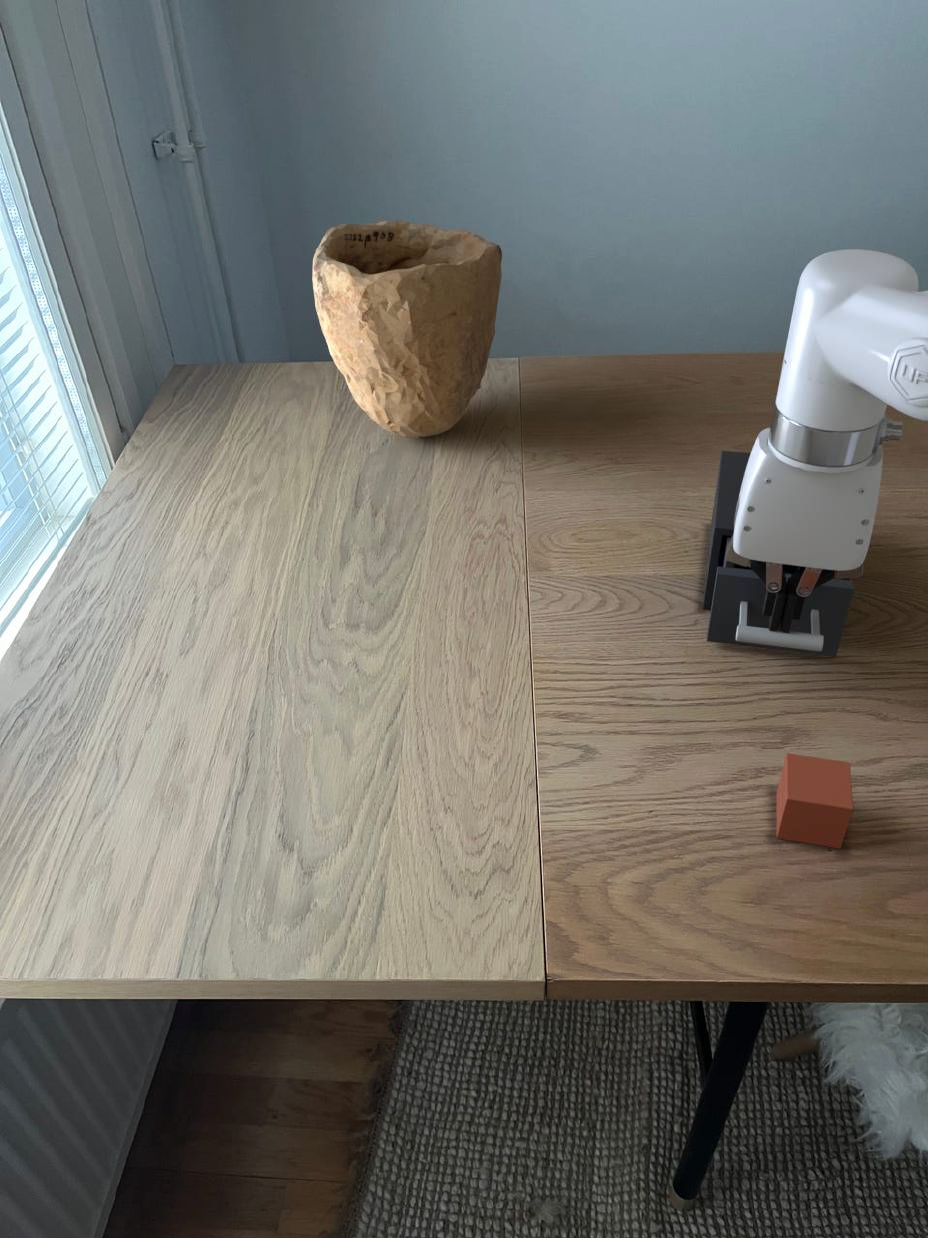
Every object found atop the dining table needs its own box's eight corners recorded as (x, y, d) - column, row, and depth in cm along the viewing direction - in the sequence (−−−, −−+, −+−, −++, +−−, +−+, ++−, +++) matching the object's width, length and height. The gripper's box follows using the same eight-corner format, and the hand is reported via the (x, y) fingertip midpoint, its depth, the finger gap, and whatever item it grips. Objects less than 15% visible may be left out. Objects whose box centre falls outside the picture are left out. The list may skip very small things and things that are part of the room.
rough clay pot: (542, 425, 124) (544, 227, 108) (424, 496, 112) (406, 285, 96) (420, 380, 136) (405, 196, 121) (300, 440, 124) (267, 244, 108)
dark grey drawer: (838, 694, 82) (857, 624, 77) (703, 676, 84) (714, 608, 79) (829, 570, 96) (845, 505, 91) (713, 558, 98) (723, 493, 93)
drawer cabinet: (837, 624, 90) (859, 541, 84) (702, 609, 93) (714, 527, 87) (831, 539, 101) (850, 460, 95) (710, 527, 104) (721, 450, 98)
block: (837, 802, 74) (850, 762, 71) (840, 849, 71) (853, 809, 68) (776, 792, 75) (786, 752, 72) (776, 838, 72) (786, 798, 69)
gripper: (927, 416, 71) (868, 607, 82) (722, 397, 74) (693, 584, 86) (938, 467, 65) (873, 664, 77) (716, 444, 68) (686, 637, 80)
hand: (778, 621), depth 81 cm, fingers closed
